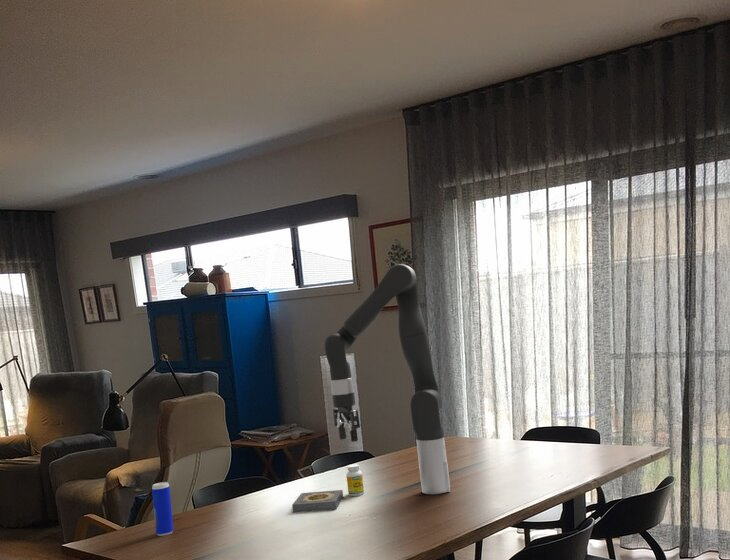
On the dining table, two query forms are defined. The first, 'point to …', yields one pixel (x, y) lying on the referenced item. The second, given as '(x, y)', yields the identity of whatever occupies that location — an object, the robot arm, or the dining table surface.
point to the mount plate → (317, 501)
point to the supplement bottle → (354, 480)
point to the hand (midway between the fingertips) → (348, 440)
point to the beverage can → (162, 508)
